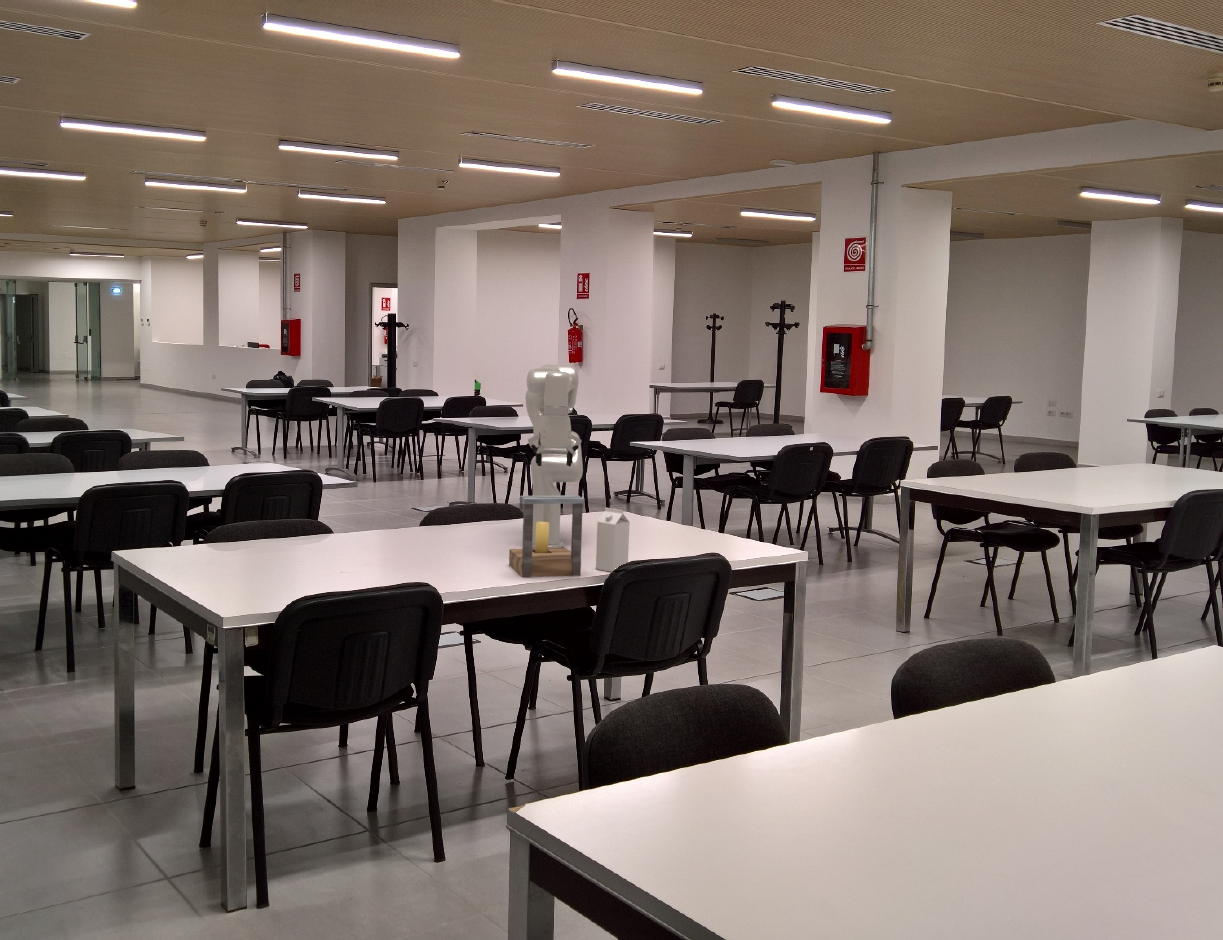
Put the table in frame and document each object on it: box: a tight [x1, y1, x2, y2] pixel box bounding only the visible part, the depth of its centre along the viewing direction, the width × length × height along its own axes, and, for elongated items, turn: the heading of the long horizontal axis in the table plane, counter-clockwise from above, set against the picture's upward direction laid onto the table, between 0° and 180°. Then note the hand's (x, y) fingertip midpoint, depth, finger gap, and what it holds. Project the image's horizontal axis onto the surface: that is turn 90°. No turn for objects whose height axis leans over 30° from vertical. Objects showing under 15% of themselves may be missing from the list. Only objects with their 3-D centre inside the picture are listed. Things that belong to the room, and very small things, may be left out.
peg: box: [535, 522, 549, 553], centre depth 345 cm, size 4×4×14 cm
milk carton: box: [595, 507, 630, 573], centre depth 346 cm, size 7×7×19 cm
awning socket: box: [508, 494, 585, 578], centre depth 340 cm, size 20×18×23 cm
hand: (554, 465), depth 355 cm, fingers open, 9 cm apart
